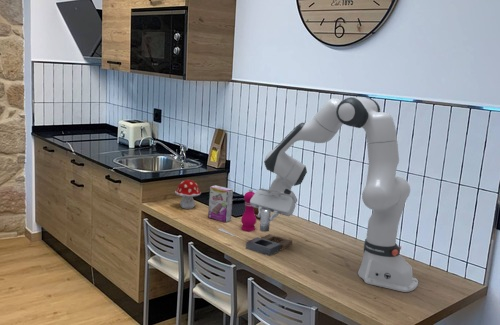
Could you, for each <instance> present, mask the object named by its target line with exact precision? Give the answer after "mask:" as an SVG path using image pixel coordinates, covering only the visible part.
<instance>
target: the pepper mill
mask: <svg viewBox="0 0 500 325" xmlns="http://www.w3.org/2000/svg"><path fill="white" fill-rule="evenodd" d="M253 191H254V190H253V189H252V188H250V189H248V191H247V192H245V194H244V196H243V199H244V205H245V210H244V212H243V214H242V216H241V220H240V221H241V223H242V224H241V230H242V231H244V232H254V231H255V230H256V225H255V224H256V223H257V216H256V215H255V213H254V207H252V205H251V204H250V200H251V198H252V197H253V195H254V194H255V193H256V192H253Z"/></svg>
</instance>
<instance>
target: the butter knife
mask: <svg viewBox="0 0 500 325" xmlns="http://www.w3.org/2000/svg"><path fill="white" fill-rule="evenodd" d="M217 231H220V232H223V233H226V234H227V235H230V236H232V237H235V236H236V235H235V234H233V233H231V232H229V231H227V230H226V229H223V228H218V229H217Z"/></svg>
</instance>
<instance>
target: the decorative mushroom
mask: <svg viewBox="0 0 500 325" xmlns="http://www.w3.org/2000/svg"><path fill="white" fill-rule="evenodd" d="M174 193H175V195H176V196H181V197H182V198H181V199H180V201H179V205H180V208H182V209H187V210H191V209H193V208H194V207H195V206H196V203H195V200H194V198H193V197H198V196H200V195H201V194H202V192H201V190H200V188H199V185H198V184H197V182H195V181H194V180H191V179H185V180H182V181H181V182H180V183H178V186H177V188H176V189H175V191H174Z"/></svg>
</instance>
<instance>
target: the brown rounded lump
mask: <svg viewBox="0 0 500 325" xmlns="http://www.w3.org/2000/svg"><path fill="white" fill-rule="evenodd" d="M254 213H255V216H256V217H258V216H257V215H258V213H259V208H255V207H254Z"/></svg>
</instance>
